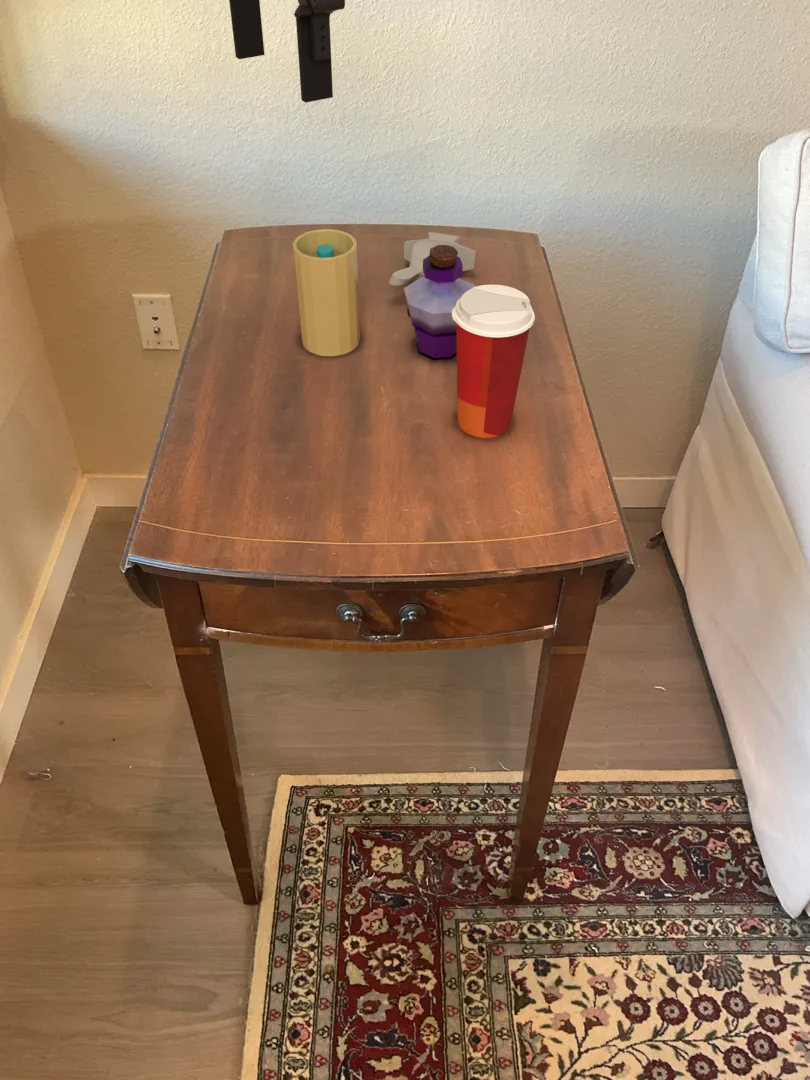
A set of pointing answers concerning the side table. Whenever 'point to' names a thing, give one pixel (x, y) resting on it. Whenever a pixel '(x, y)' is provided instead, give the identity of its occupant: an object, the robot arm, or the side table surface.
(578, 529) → the side table surface
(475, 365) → the paper cup
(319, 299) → the can
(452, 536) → the side table surface
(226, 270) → the side table surface
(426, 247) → the bunny figurine
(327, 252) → the teal cylinder rod
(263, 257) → the side table surface
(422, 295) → the potion bottle
